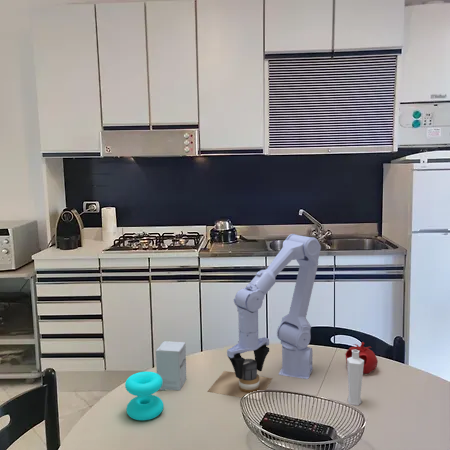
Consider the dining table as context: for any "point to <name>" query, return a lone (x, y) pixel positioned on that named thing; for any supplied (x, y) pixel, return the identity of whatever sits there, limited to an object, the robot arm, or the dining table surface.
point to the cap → (249, 369)
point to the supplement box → (171, 364)
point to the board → (234, 384)
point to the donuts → (144, 395)
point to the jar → (249, 385)
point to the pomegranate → (364, 357)
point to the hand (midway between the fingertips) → (249, 373)
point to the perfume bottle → (355, 377)
